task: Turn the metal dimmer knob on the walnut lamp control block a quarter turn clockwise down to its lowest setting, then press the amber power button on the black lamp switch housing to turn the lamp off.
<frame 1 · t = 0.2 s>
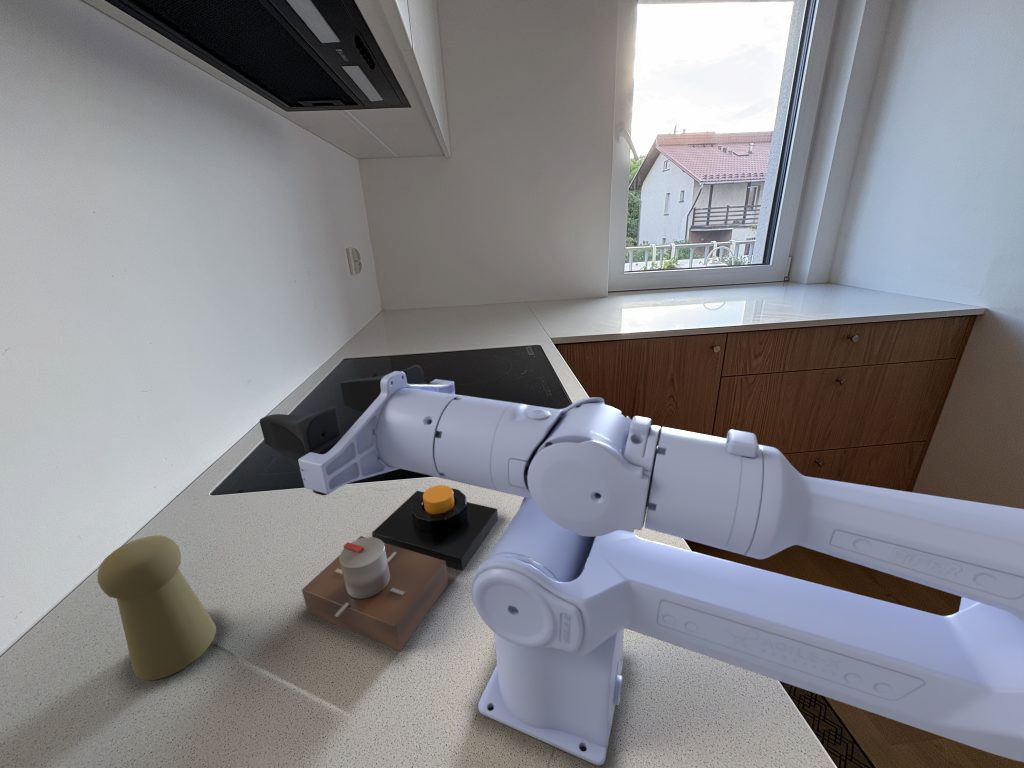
hand: (309, 409, 34), 21 cm above the worktop, tool horizontal, fingers open, 7 cm apart
dimmer knob: (365, 565, 39), point 5 cm above the worktop, hinge at 0.0°
lamp switch: (437, 531, 51), on the worktop
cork: (177, 648, 38), on the worktop
dimmer panel: (380, 598, 42), on the worktop
power button: (438, 499, 51), point 4 cm above the worktop, slide at 0.1 cm
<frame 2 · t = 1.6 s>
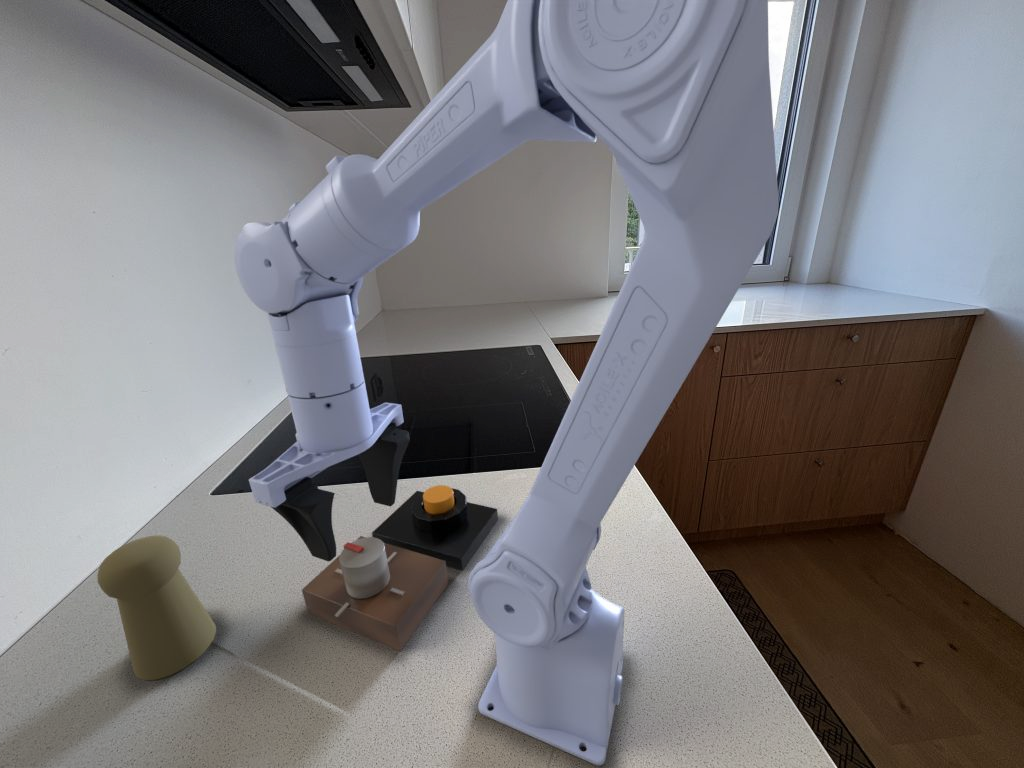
hand: (356, 527, 38), 9 cm above the worktop, tool pointing down, fingers open, 7 cm apart
nothing on the worktop moved.
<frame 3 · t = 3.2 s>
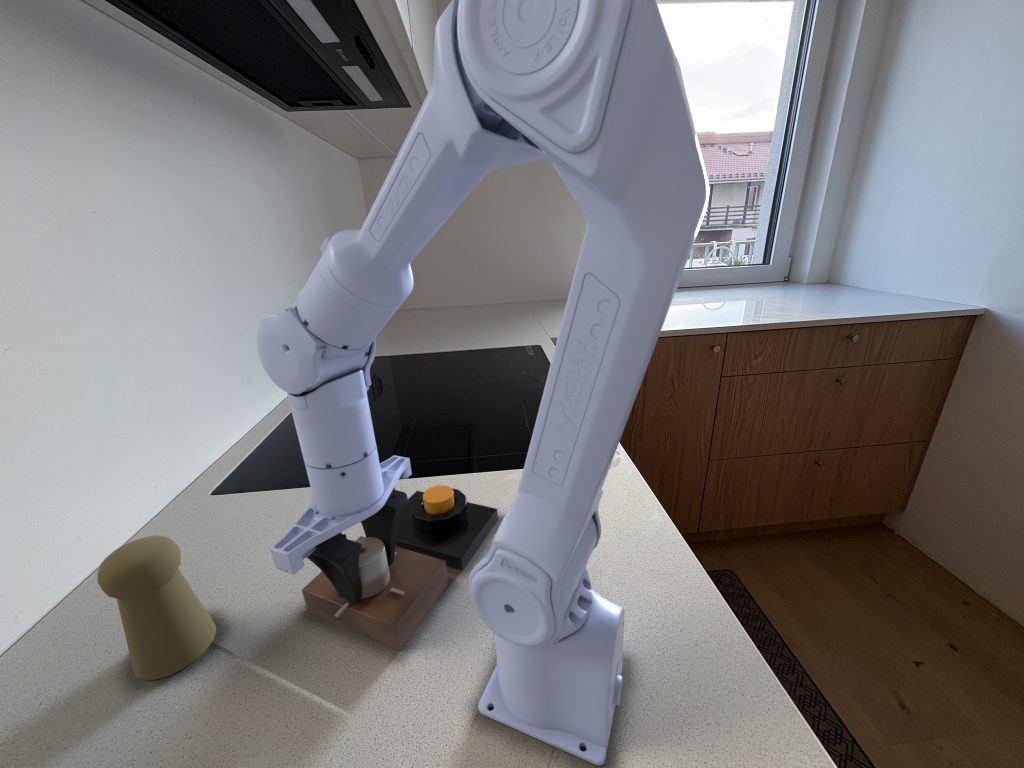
hand: (368, 578, 40), 4 cm above the worktop, tool pointing down, fingers closed on dimmer knob, 4 cm apart
dimmer knob: (365, 565, 39), point 5 cm above the worktop, hinge at -0.1°, touching gripper
everything else where it was.
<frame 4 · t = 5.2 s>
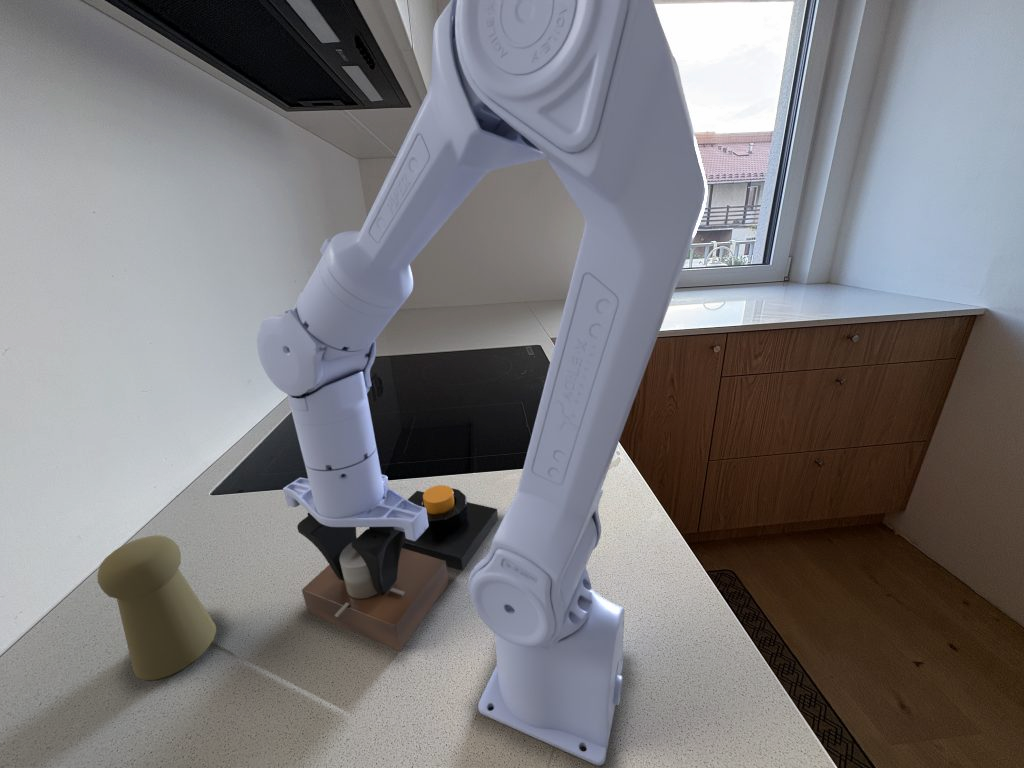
hand: (368, 579, 40), 3 cm above the worktop, tool pointing down, fingers closed on dimmer knob, 4 cm apart
dimmer knob: (365, 565, 39), point 5 cm above the worktop, hinge at -90.0°, touching gripper
everything else where it was.
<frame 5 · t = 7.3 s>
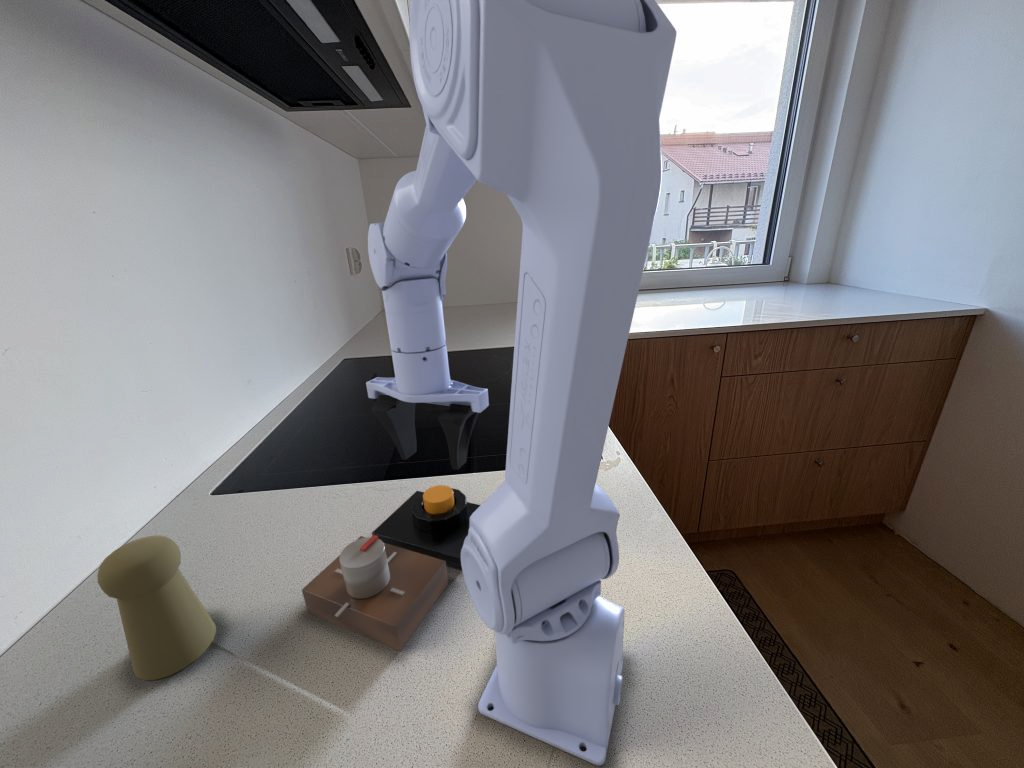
hand: (433, 460, 49), 9 cm above the worktop, tool pointing down, fingers open, 6 cm apart
dimmer knob: (365, 565, 39), point 5 cm above the worktop, hinge at -90.0°
everything else where it was.
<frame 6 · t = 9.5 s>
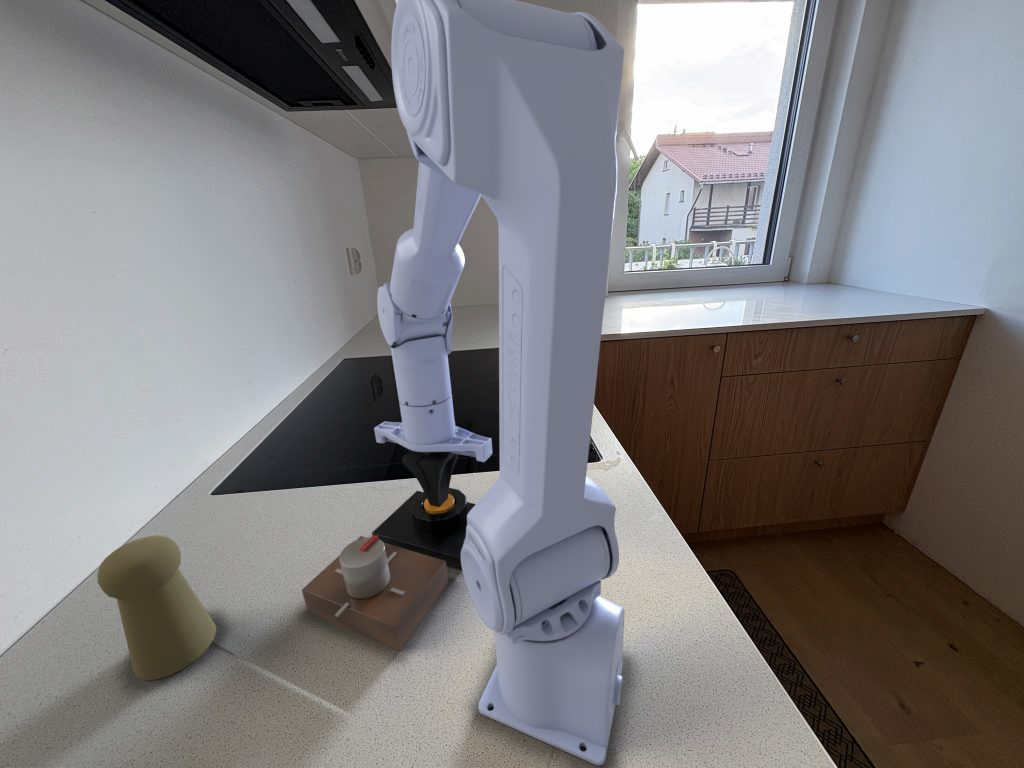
hand: (439, 501, 51), 4 cm above the worktop, tool pointing down, fingers closed, pressing on power button
power button: (439, 507, 51), point 3 cm above the worktop, slide at -1.0 cm, touching gripper
everything else where it was.
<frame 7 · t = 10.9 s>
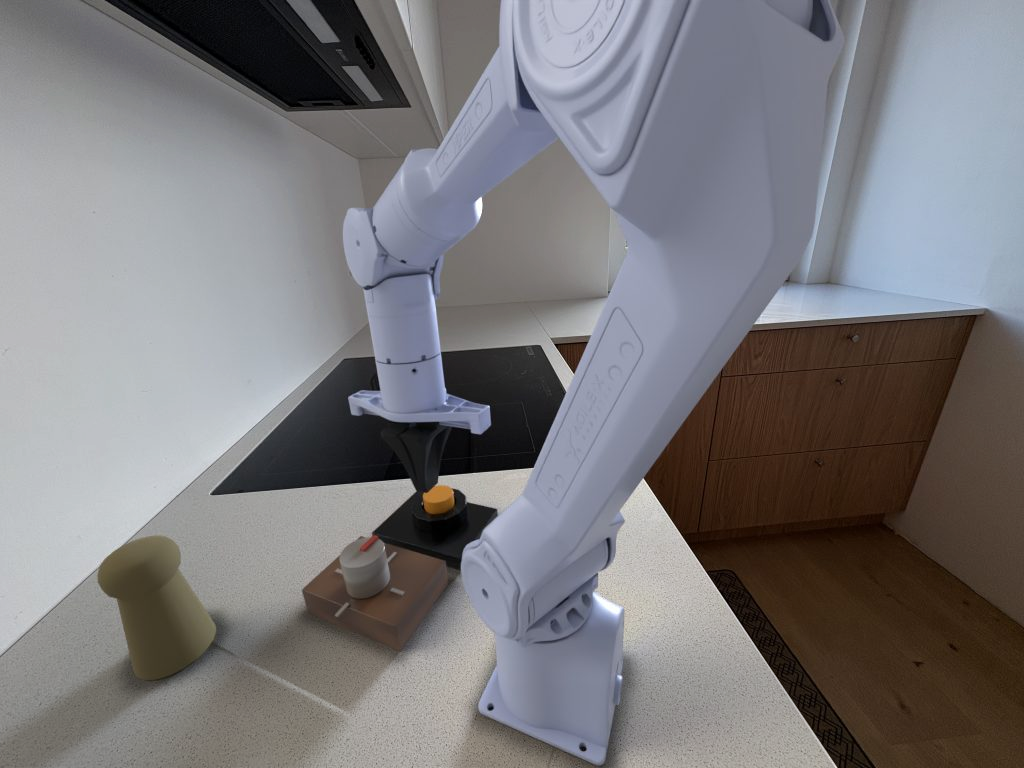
hand: (427, 486, 42), 10 cm above the worktop, tool pointing down, fingers closed
power button: (438, 499, 51), point 4 cm above the worktop, slide at 0.1 cm
everything else where it was.
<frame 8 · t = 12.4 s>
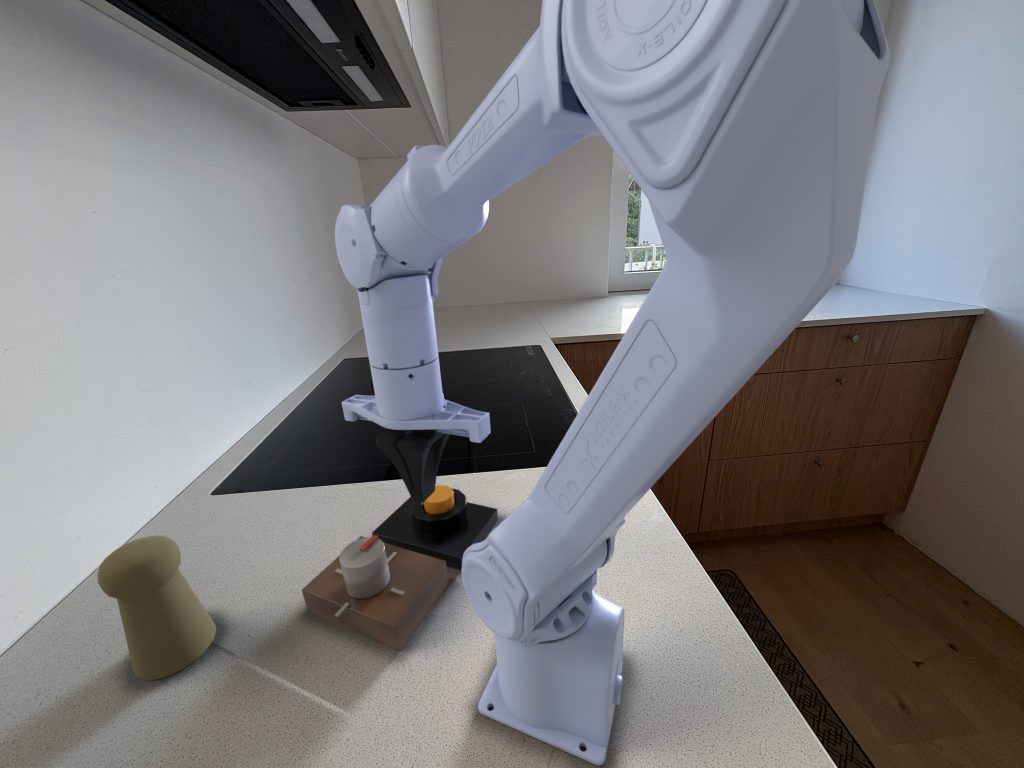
hand: (423, 494, 40), 10 cm above the worktop, tool pointing down, fingers closed
nothing on the worktop moved.
at the end: dimmer knob at -90° (first picture: +0°); power button pushed in 1.2 cm at the most during the clip, back to where it started at the end; power button slide at 0.1 cm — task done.
